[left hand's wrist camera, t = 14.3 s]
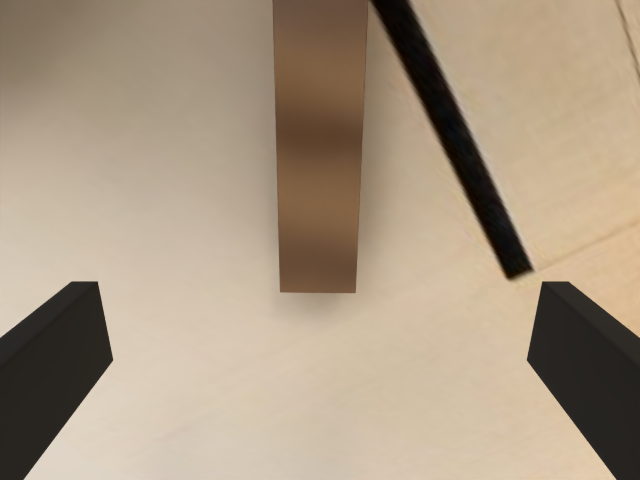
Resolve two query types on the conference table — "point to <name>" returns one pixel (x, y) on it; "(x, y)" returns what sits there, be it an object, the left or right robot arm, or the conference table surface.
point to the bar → (319, 140)
